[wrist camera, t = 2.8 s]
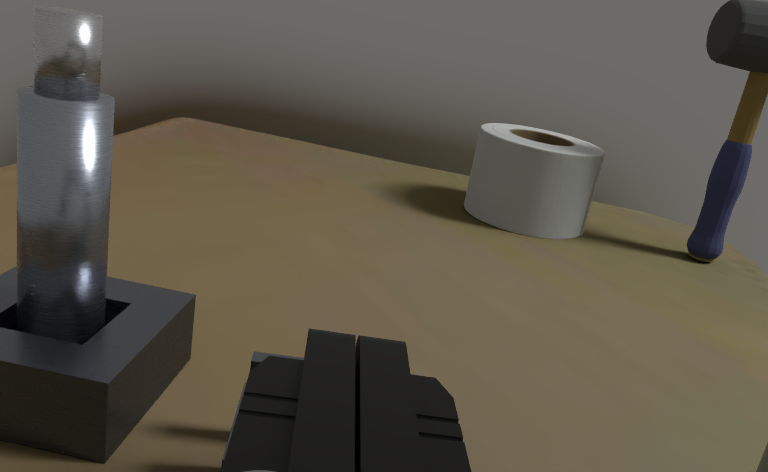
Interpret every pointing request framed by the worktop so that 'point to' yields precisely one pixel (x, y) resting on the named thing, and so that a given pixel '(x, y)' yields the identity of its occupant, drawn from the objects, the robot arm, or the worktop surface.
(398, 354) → the robot arm
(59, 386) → the socket block
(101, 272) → the metal spray bottle
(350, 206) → the worktop surface
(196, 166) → the worktop surface
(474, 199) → the white toilet paper roll
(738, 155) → the rubber mallet
